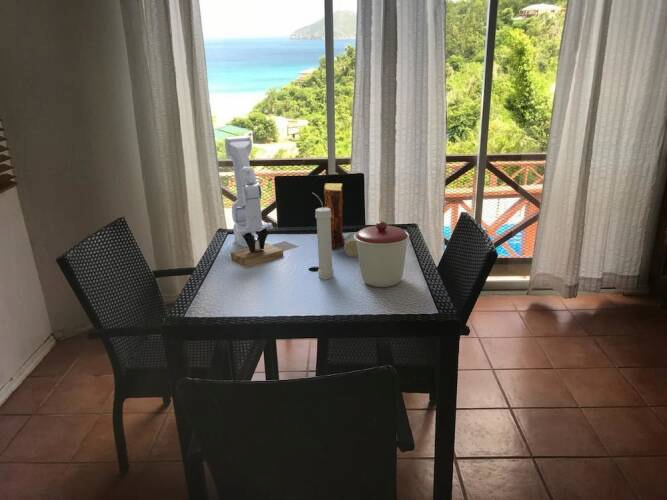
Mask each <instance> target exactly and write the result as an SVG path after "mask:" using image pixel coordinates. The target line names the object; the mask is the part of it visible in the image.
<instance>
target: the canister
mask: <svg viewBox="0 0 667 500" xmlns="http://www.w3.org/2000/svg"><path fill="white" fill-rule="evenodd" d="M354 233H355V235H354V238H355V240H356V242H357V250H358V257H357V258H358V262H359V269H360V276H361V278H362V280H363V282H364V283H365V284H367V285H369V286H371V287H376V288H389V287H393V286H395V285H397V284H399V283H400V282H401V281H402V278H403V275H404V267H405V262H406V253H407V246H408V245H407V244H408V240H409V238H410V233H409V232H408V231H406V230H404V229H402V228H401V227H397V226H395V225H393V226H392V225H388V224H387V223H386V222H385V221H384V220H383V221H382V220H381V221H378V222H377V223H376V224H375V225H372V226H367V227H364V228H361V229H359V231H357V232H354Z"/></svg>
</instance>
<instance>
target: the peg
mask: <svg viewBox="0 0 667 500" xmlns="http://www.w3.org/2000/svg"><path fill="white" fill-rule="evenodd" d="M260 252H261V248H260V238H258V237H256V238H254V252H253V253H254V254H256V253H260Z"/></svg>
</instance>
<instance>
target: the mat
mask: <svg viewBox="0 0 667 500" xmlns="http://www.w3.org/2000/svg"><path fill="white" fill-rule="evenodd" d="M271 245H272V246H275V247H277V248H280V249H282V250H283V252H285V251H288V250H289V251H290V250H292V249H295V248H299V247H300V246H298V245H296V244H294V243H291V242H288V241H286V240H284V241H280V242H277V243H273V244H271Z"/></svg>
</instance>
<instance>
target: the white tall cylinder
mask: <svg viewBox="0 0 667 500" xmlns="http://www.w3.org/2000/svg"><path fill="white" fill-rule="evenodd" d="M312 194H313V195H315V196H316V197H317V199H318V200H319V201H320V203H321V206H322V207H318V208H316V209H314V210H315V215H314V219H315V218H316V230H317V231H316V235H317V251H318V253H317V254H318V269H317V273H318V278H319V279H321V280H330V279H333V277H334V276H335V275H334V273H335V270H334V267H333V253H332V252H333V249H332V244H331V220H330V218H331V217H332V215H331V209H330V208H325V207H324V206H323V202H322V200H321V198H319V197H320V196H318V195H317V194H315V193H314V192H312Z"/></svg>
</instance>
